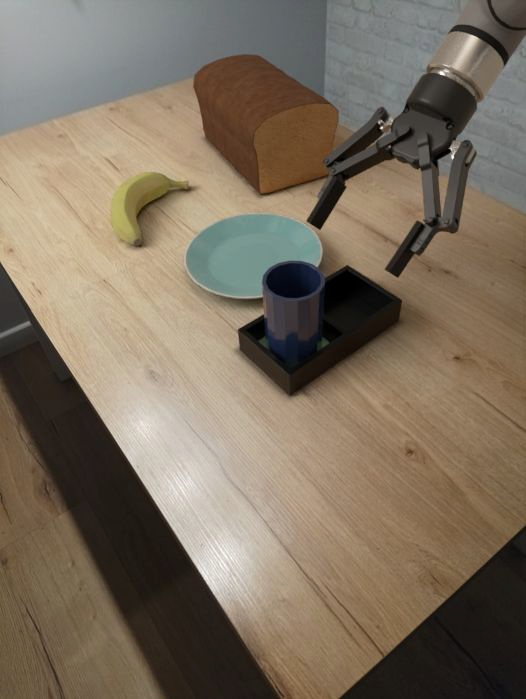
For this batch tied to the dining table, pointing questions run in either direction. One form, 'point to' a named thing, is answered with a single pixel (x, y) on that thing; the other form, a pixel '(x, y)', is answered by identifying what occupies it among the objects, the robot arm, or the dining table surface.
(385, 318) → the tray
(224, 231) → the plate
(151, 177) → the banana
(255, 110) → the bread
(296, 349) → the cup
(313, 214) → the robot arm
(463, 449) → the dining table surface
